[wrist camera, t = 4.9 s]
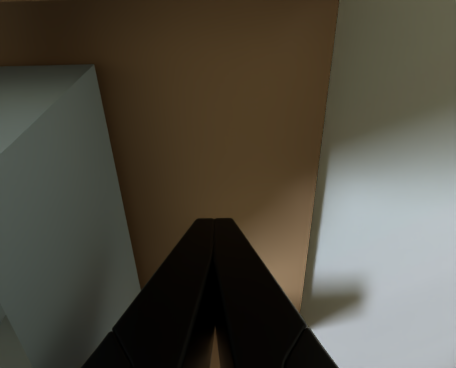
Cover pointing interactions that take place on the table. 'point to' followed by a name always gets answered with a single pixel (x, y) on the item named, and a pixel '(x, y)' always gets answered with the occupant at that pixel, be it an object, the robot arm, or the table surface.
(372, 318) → the table surface
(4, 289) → the grey box
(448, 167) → the table surface
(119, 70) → the brown tray
